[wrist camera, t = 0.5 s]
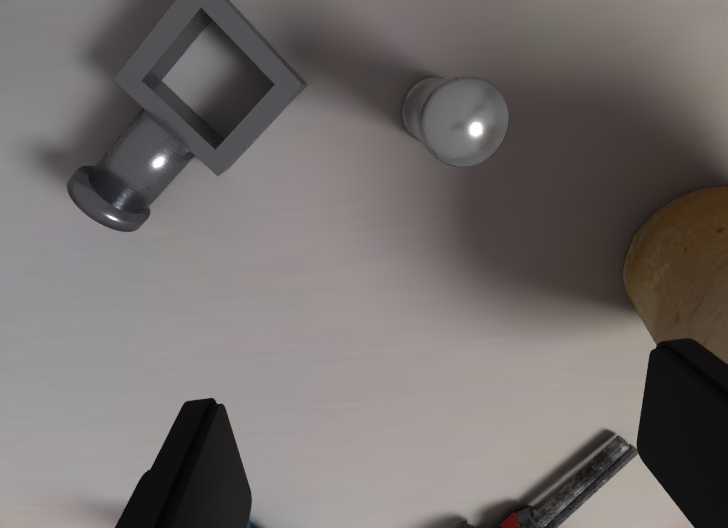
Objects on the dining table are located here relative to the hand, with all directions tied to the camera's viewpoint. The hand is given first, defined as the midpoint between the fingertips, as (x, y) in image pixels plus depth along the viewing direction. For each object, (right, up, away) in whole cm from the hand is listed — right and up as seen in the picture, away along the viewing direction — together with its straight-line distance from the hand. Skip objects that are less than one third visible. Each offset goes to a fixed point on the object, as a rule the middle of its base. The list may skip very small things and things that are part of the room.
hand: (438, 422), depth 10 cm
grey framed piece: (-14, +13, +20) cm, 28 cm away
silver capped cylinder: (+3, +14, +21) cm, 25 cm away
